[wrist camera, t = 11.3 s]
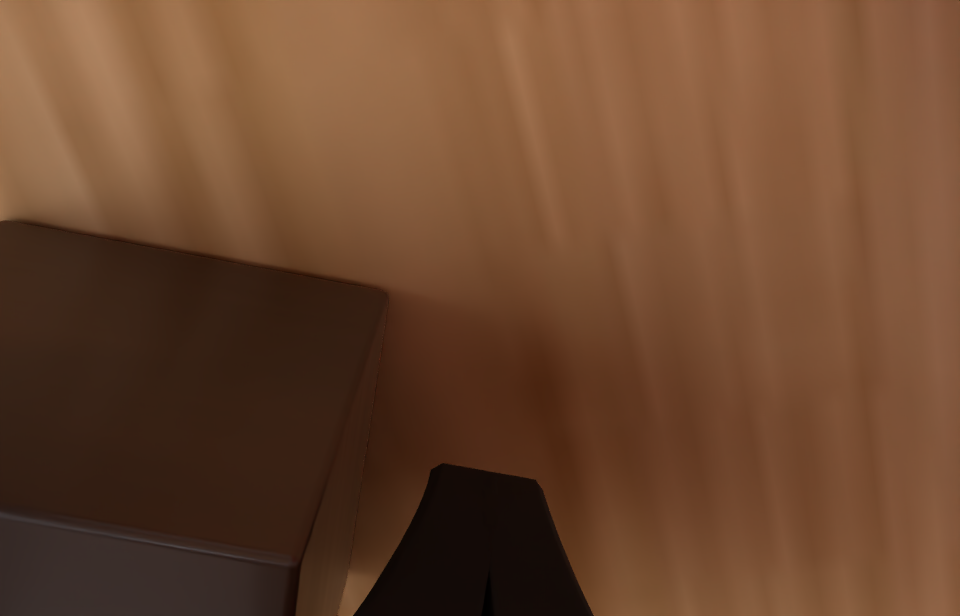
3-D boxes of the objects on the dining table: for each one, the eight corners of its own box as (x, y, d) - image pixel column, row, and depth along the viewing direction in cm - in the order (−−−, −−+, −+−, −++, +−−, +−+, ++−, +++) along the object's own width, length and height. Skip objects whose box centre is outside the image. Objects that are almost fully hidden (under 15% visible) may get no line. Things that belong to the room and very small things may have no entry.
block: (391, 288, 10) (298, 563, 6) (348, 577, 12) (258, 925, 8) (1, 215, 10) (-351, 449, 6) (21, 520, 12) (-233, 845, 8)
